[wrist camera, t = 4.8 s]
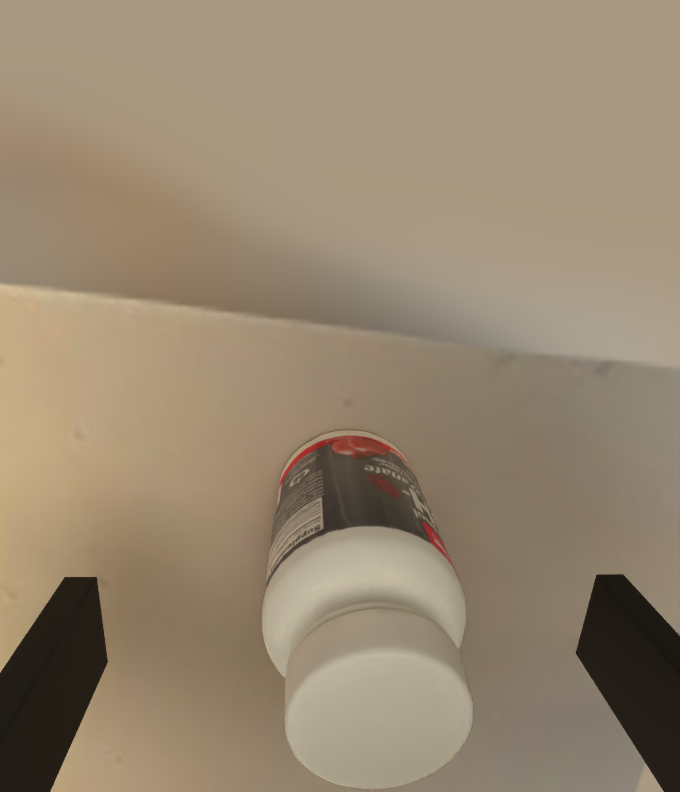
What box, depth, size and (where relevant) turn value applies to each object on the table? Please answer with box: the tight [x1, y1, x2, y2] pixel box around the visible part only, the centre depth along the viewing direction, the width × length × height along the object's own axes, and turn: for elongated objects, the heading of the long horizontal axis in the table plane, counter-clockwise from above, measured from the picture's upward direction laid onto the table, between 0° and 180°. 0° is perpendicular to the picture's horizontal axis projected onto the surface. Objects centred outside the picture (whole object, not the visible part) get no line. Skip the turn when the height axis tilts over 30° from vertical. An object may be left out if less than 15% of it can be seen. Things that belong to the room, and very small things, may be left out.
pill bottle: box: [262, 430, 473, 789], centre depth 15 cm, size 5×5×10 cm
